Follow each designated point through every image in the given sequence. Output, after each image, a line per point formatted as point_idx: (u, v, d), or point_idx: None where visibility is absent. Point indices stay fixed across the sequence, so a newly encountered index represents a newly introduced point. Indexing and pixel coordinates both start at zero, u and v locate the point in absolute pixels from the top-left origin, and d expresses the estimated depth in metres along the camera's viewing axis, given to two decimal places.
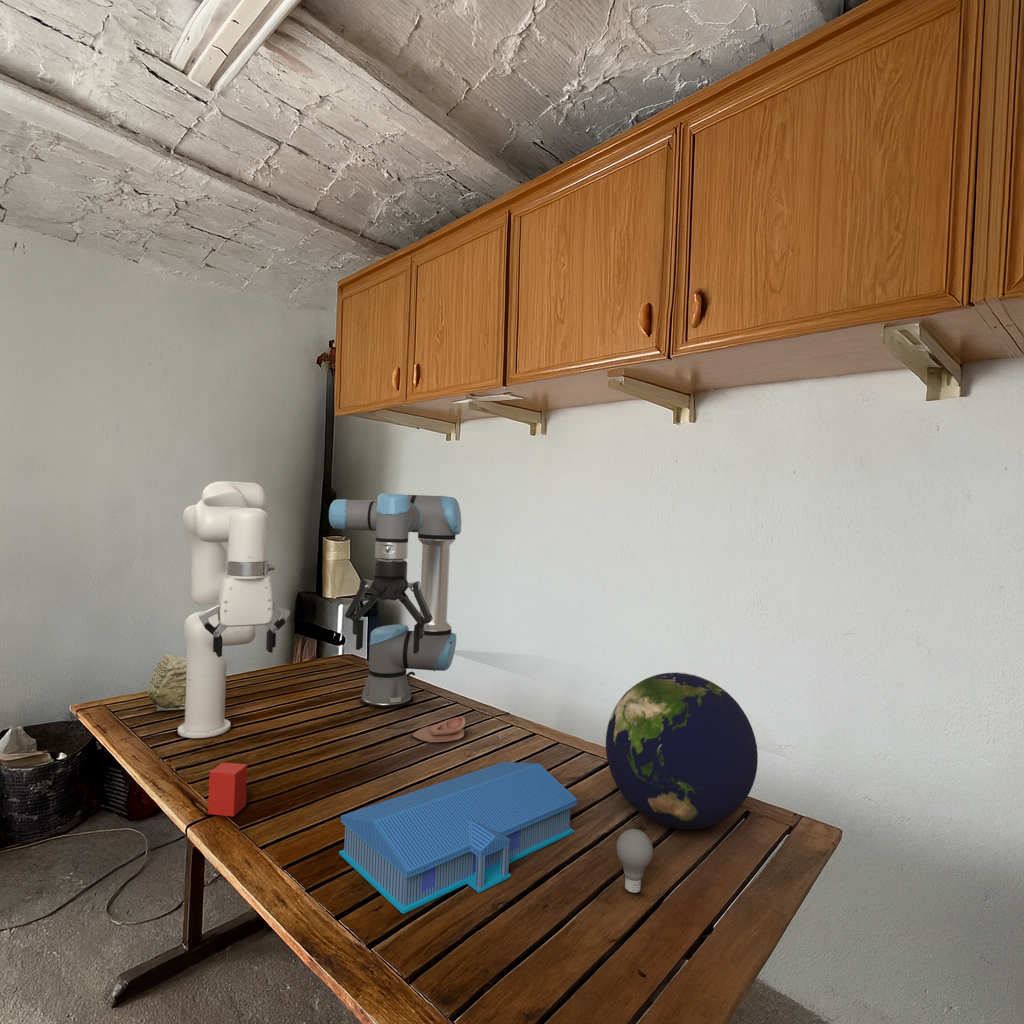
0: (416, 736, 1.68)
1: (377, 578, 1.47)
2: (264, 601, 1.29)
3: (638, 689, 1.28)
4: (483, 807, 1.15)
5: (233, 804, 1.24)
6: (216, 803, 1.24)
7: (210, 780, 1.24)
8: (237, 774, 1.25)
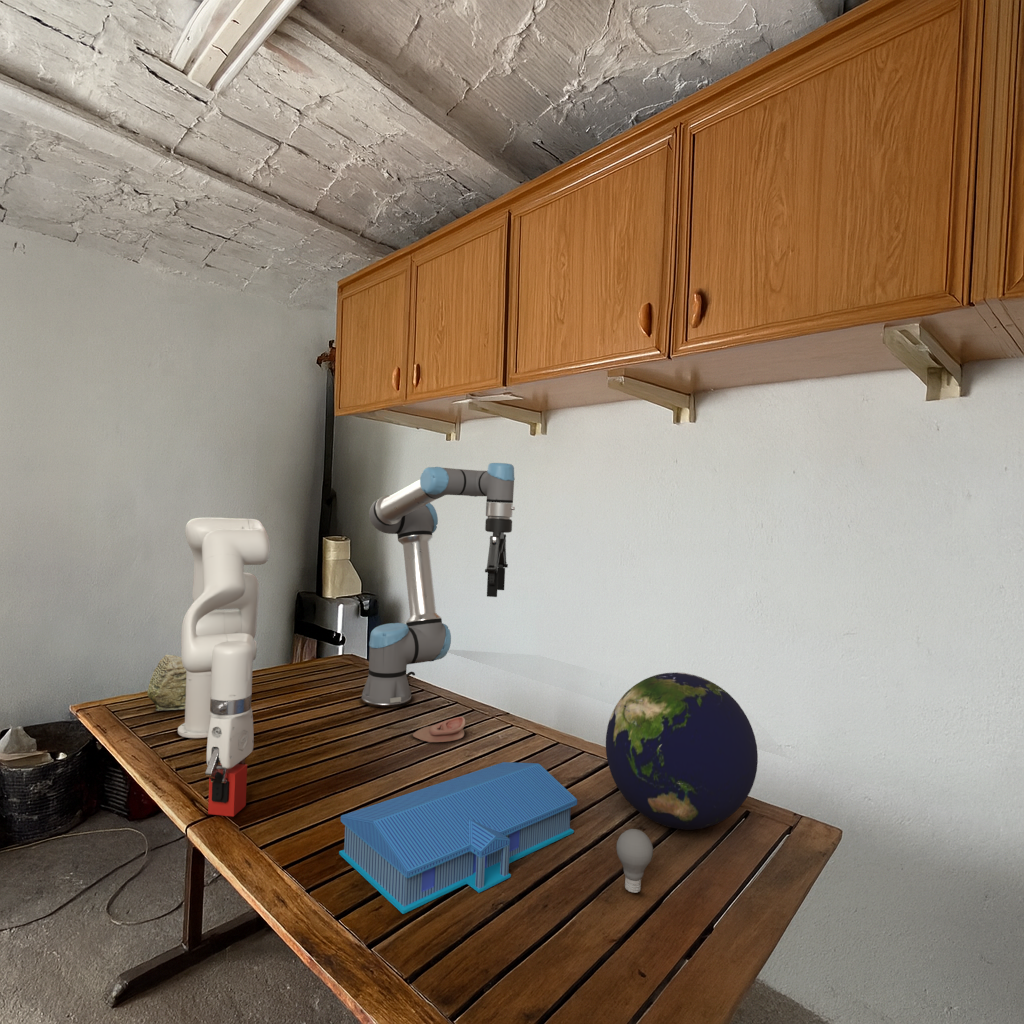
0: (416, 736, 1.68)
1: (500, 534, 1.76)
2: None
3: (638, 689, 1.28)
4: (483, 807, 1.15)
5: (233, 804, 1.24)
6: (216, 803, 1.24)
7: (210, 780, 1.24)
8: (237, 774, 1.25)
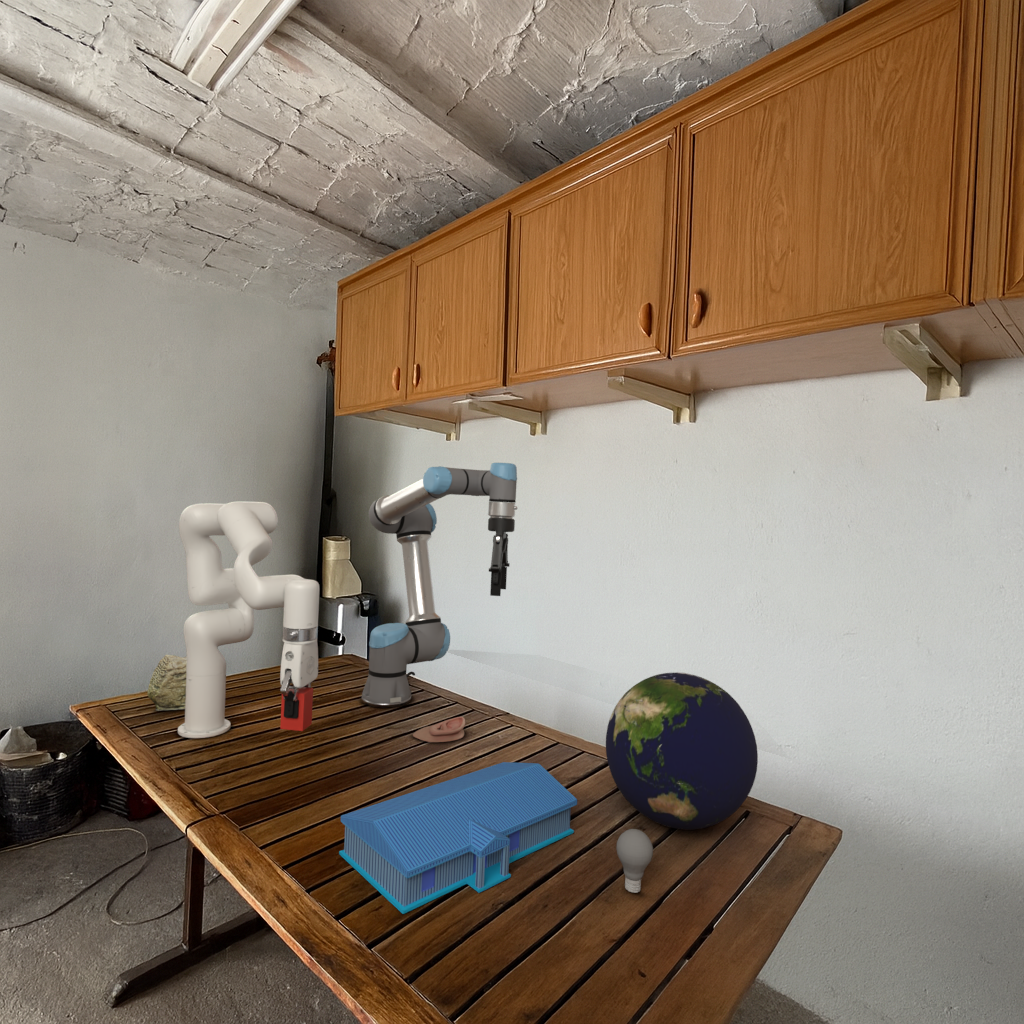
0: (416, 736, 1.68)
1: (503, 533, 1.76)
2: None
3: (638, 689, 1.28)
4: (483, 807, 1.15)
5: (302, 720, 1.42)
6: (287, 719, 1.42)
7: (282, 699, 1.42)
8: (306, 694, 1.42)
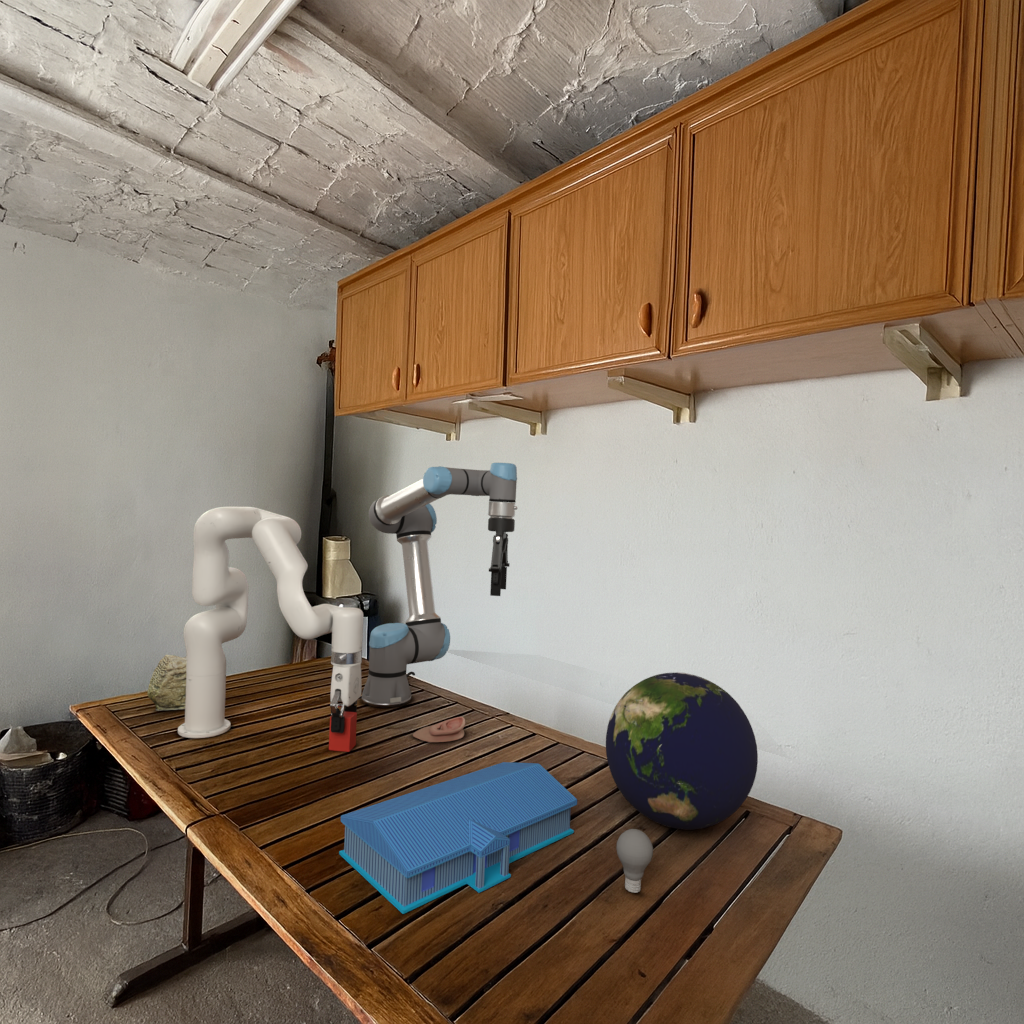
0: (416, 736, 1.68)
1: (503, 533, 1.76)
2: None
3: (638, 689, 1.28)
4: (483, 807, 1.15)
5: (349, 742, 1.58)
6: (335, 741, 1.58)
7: (330, 723, 1.58)
8: (351, 718, 1.58)
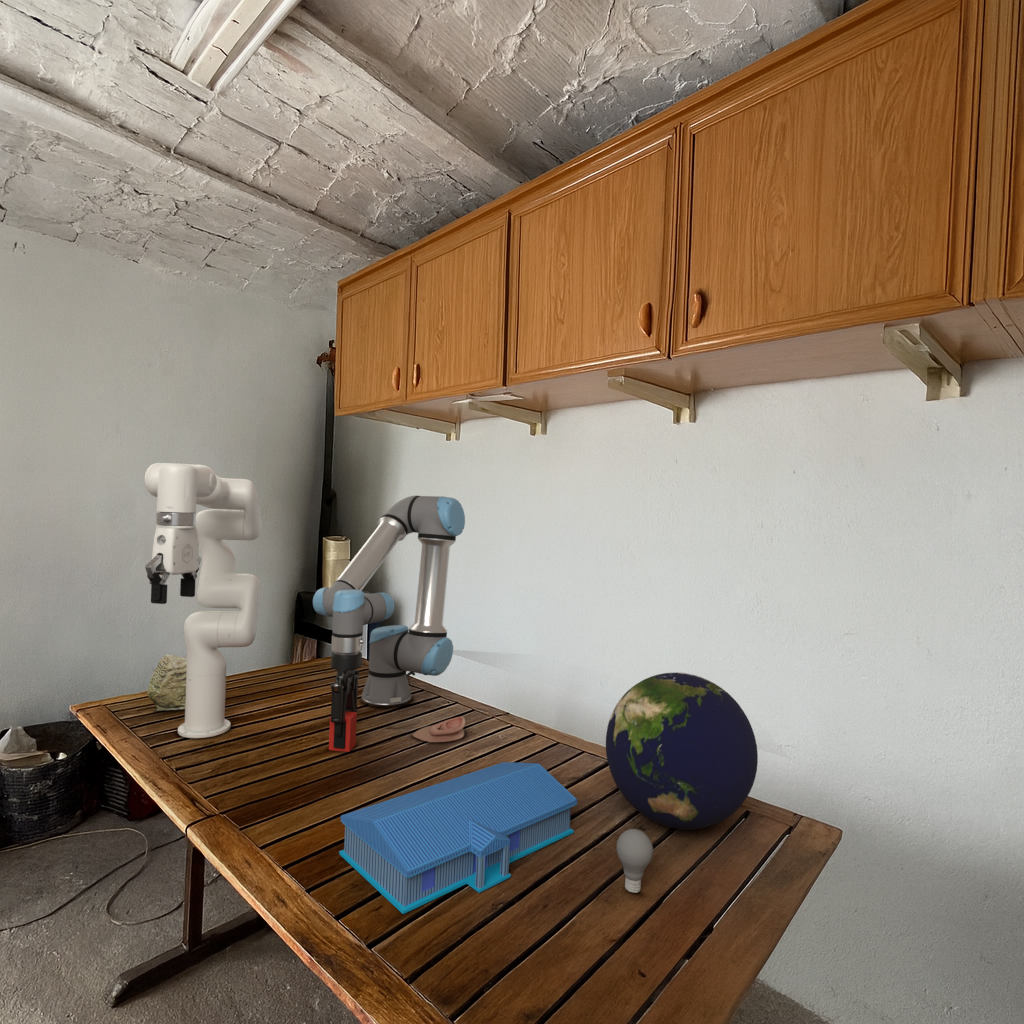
0: (416, 736, 1.68)
1: (346, 672, 1.57)
2: None
3: (638, 689, 1.28)
4: (483, 807, 1.15)
5: (349, 742, 1.58)
6: None
7: (330, 723, 1.58)
8: (351, 718, 1.58)
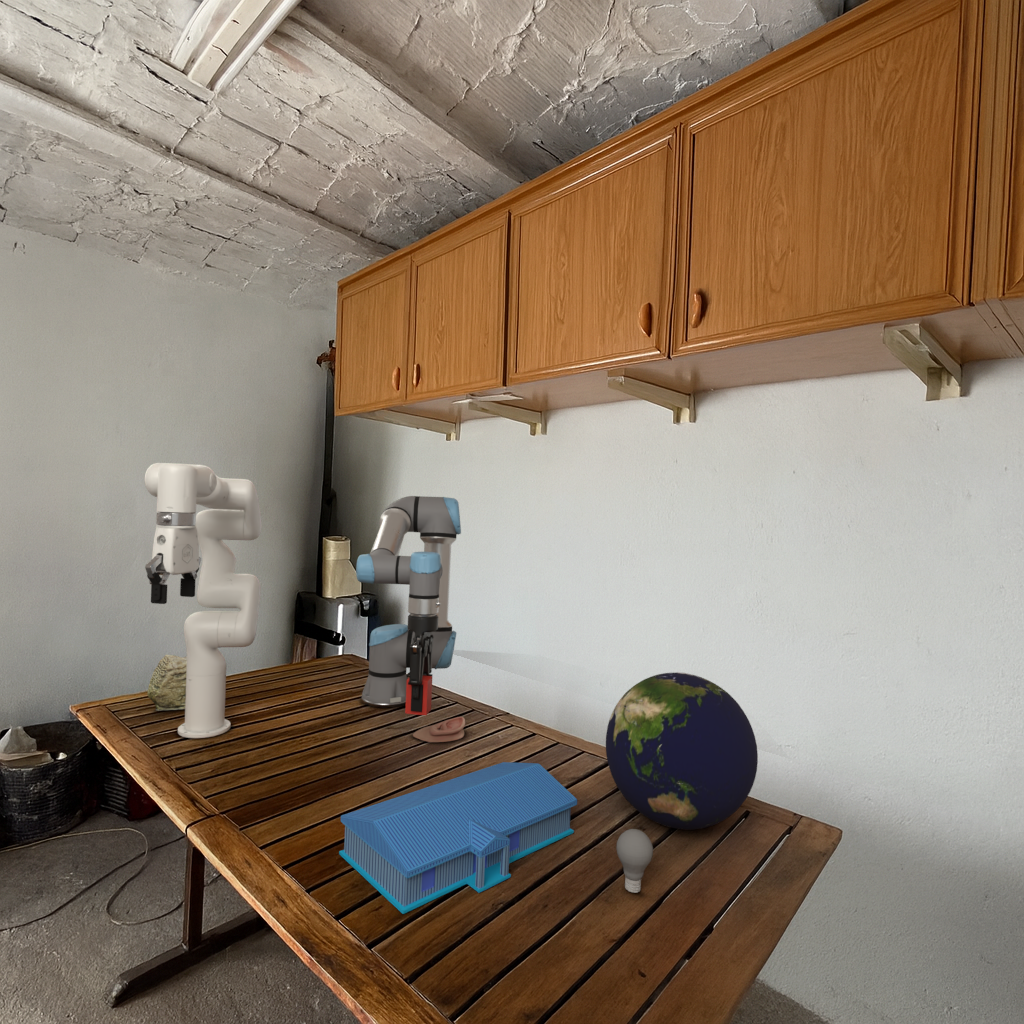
0: (416, 736, 1.68)
1: (423, 634, 1.55)
2: None
3: (638, 689, 1.28)
4: (483, 807, 1.15)
5: (426, 705, 1.55)
6: None
7: (407, 686, 1.56)
8: (428, 682, 1.56)
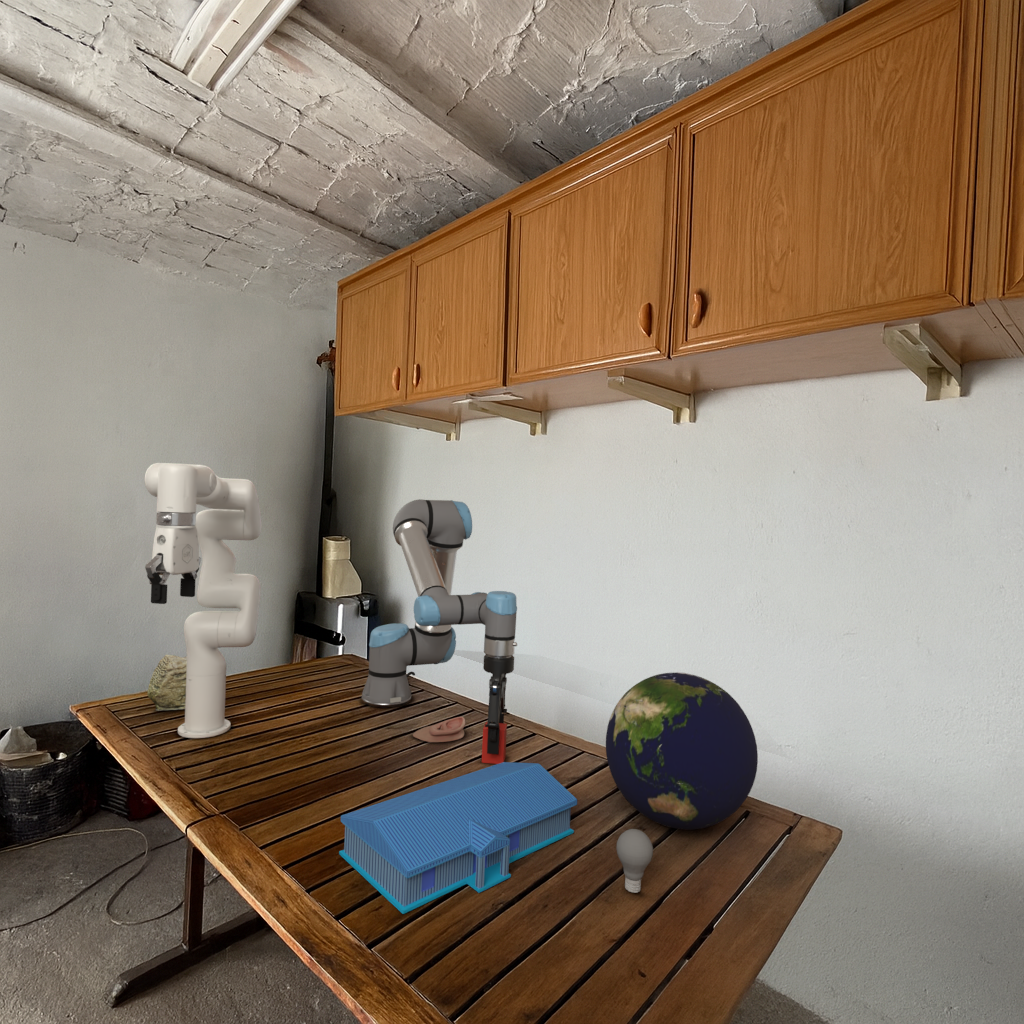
0: (416, 736, 1.68)
1: (501, 675, 1.53)
2: None
3: (638, 689, 1.28)
4: (483, 807, 1.15)
5: (503, 754, 1.54)
6: None
7: (483, 735, 1.54)
8: (505, 730, 1.55)
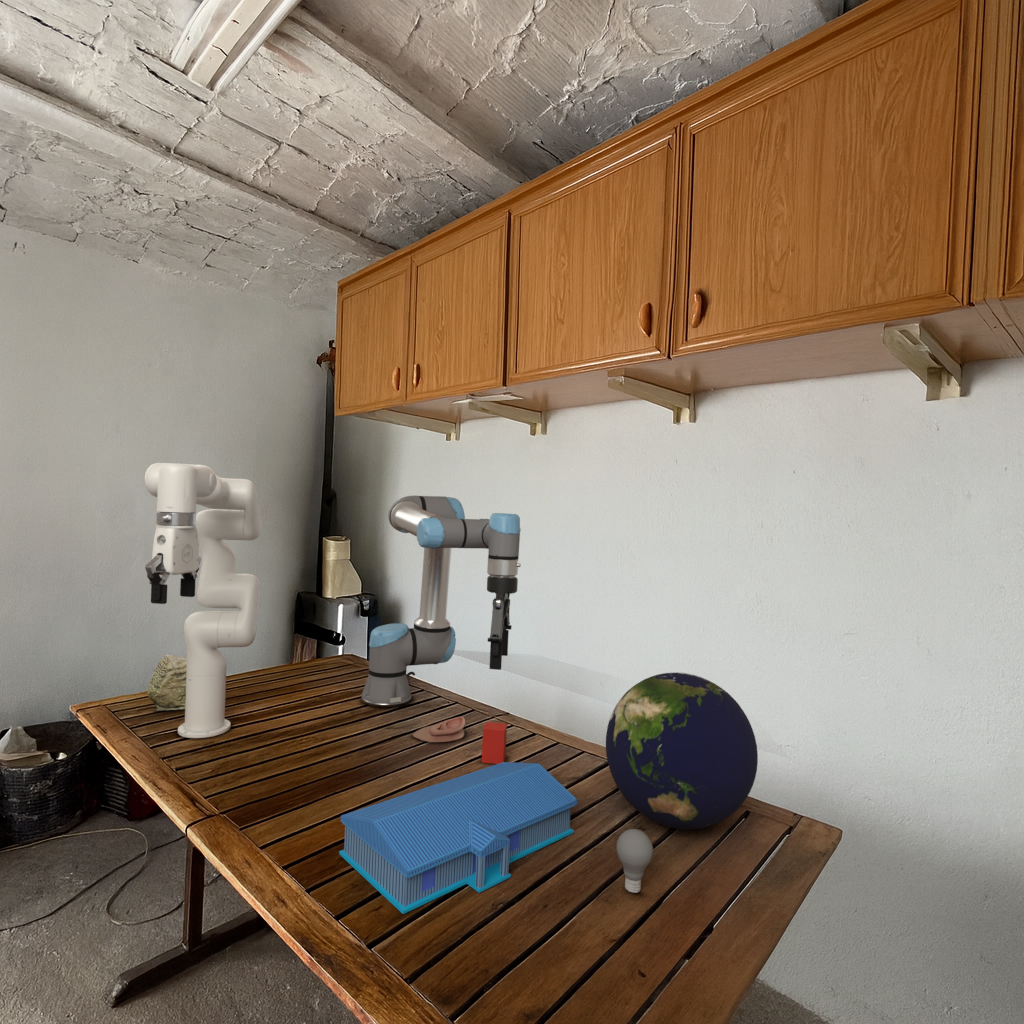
0: (416, 736, 1.68)
1: (504, 595, 1.53)
2: None
3: (638, 689, 1.28)
4: (483, 807, 1.15)
5: (503, 754, 1.54)
6: (488, 753, 1.54)
7: (483, 735, 1.54)
8: (505, 730, 1.55)
